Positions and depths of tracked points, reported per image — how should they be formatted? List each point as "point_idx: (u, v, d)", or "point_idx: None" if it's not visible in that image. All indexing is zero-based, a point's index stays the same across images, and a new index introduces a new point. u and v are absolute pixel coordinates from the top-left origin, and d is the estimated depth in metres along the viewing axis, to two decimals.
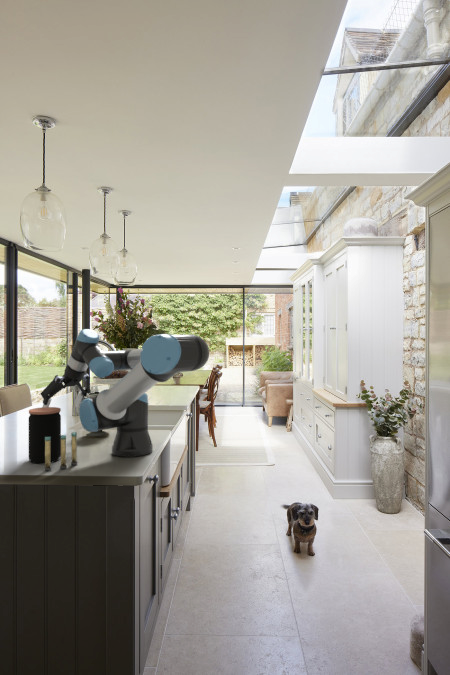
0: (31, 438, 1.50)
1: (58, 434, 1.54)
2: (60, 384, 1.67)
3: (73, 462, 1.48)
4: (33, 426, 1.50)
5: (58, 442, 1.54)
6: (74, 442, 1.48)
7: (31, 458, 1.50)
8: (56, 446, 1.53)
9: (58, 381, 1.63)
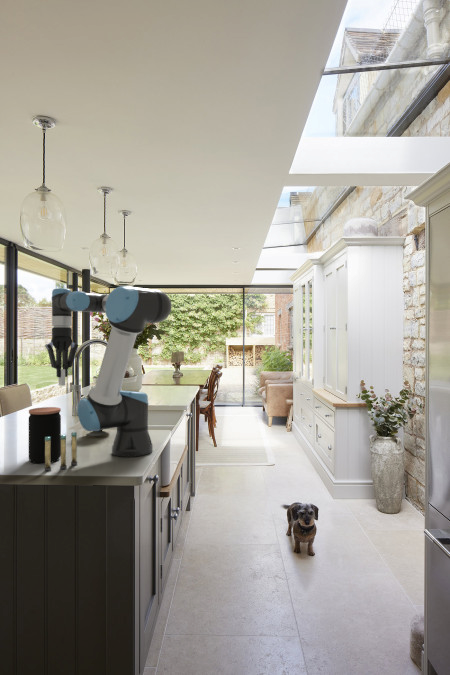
0: (31, 438, 1.50)
1: (58, 434, 1.54)
2: (57, 351, 1.75)
3: (73, 462, 1.48)
4: (33, 426, 1.50)
5: (58, 442, 1.54)
6: (74, 442, 1.48)
7: (31, 458, 1.50)
8: (56, 446, 1.53)
9: (49, 347, 1.71)
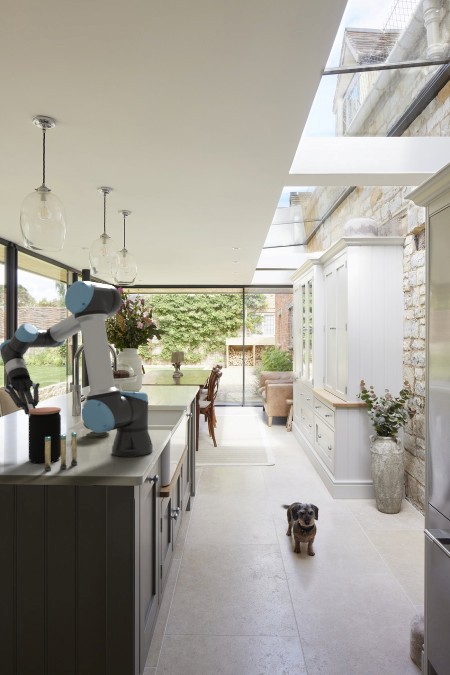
0: (31, 438, 1.50)
1: (58, 434, 1.54)
2: (19, 392, 1.68)
3: (73, 462, 1.48)
4: (33, 426, 1.50)
5: (58, 442, 1.54)
6: (74, 442, 1.48)
7: (31, 458, 1.50)
8: (56, 446, 1.53)
9: (9, 387, 1.66)
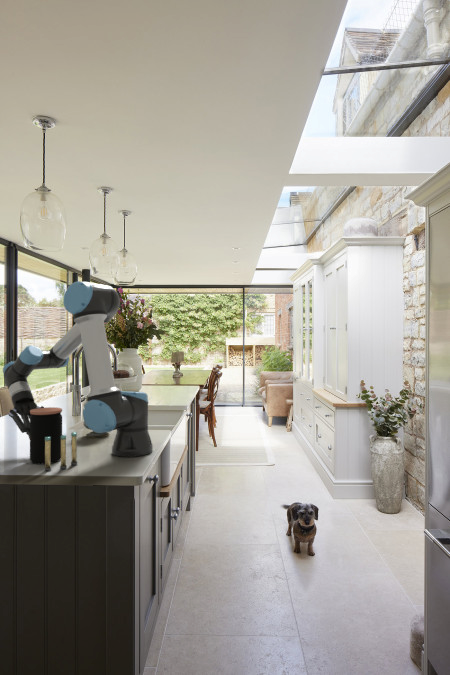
0: (33, 438, 1.50)
1: (60, 434, 1.54)
2: (23, 416, 1.64)
3: (73, 462, 1.48)
4: (35, 427, 1.49)
5: (60, 442, 1.53)
6: (74, 442, 1.48)
7: (32, 459, 1.50)
8: (57, 446, 1.52)
9: (12, 411, 1.62)
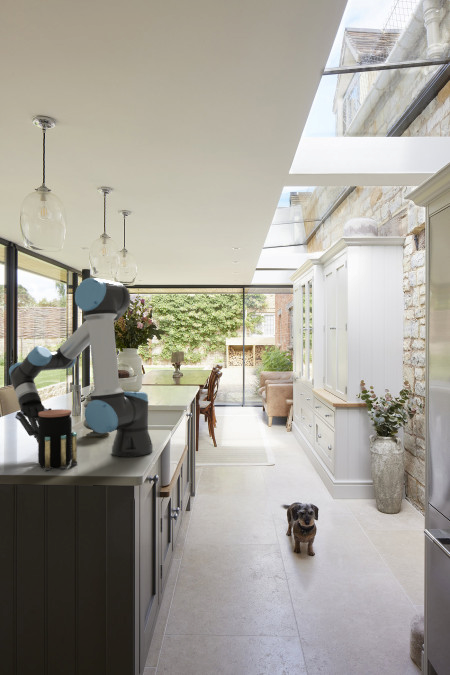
0: (42, 441, 1.45)
1: (69, 437, 1.49)
2: (30, 419, 1.59)
3: (73, 462, 1.48)
4: (44, 430, 1.44)
5: (69, 445, 1.49)
6: (74, 442, 1.48)
7: (42, 462, 1.45)
8: (67, 450, 1.48)
9: (20, 414, 1.57)
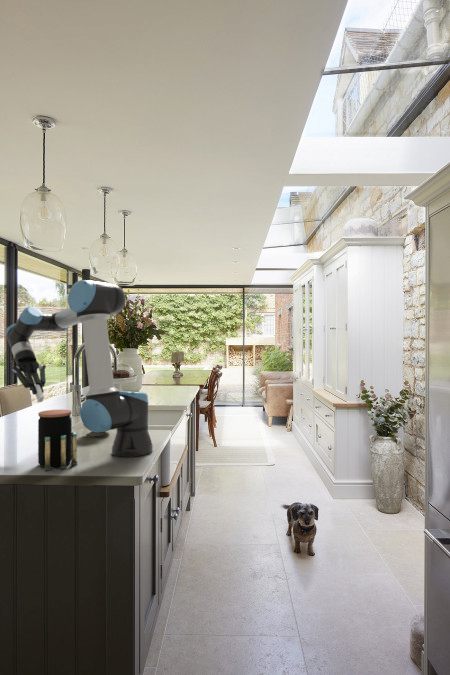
0: (42, 441, 1.45)
1: (69, 437, 1.49)
2: (26, 373, 1.71)
3: (73, 462, 1.48)
4: (44, 430, 1.44)
5: (69, 446, 1.49)
6: (74, 442, 1.48)
7: (42, 463, 1.45)
8: (67, 450, 1.48)
9: (16, 368, 1.69)
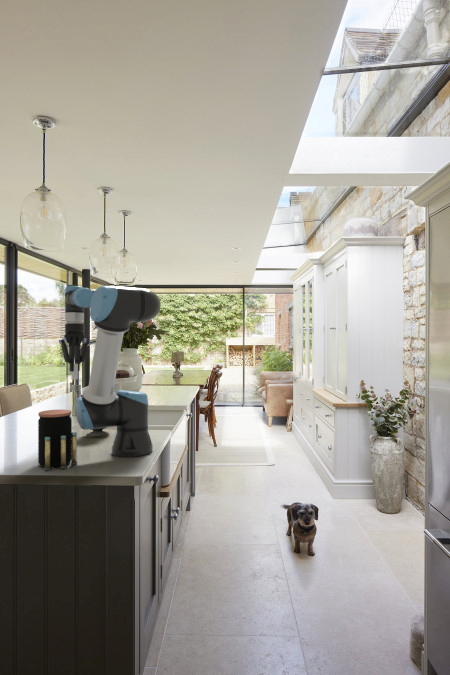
0: (42, 441, 1.45)
1: (69, 437, 1.49)
2: (70, 347, 1.82)
3: (73, 462, 1.48)
4: (44, 430, 1.44)
5: (69, 446, 1.49)
6: (74, 442, 1.48)
7: (42, 463, 1.45)
8: (67, 450, 1.48)
9: (63, 342, 1.78)
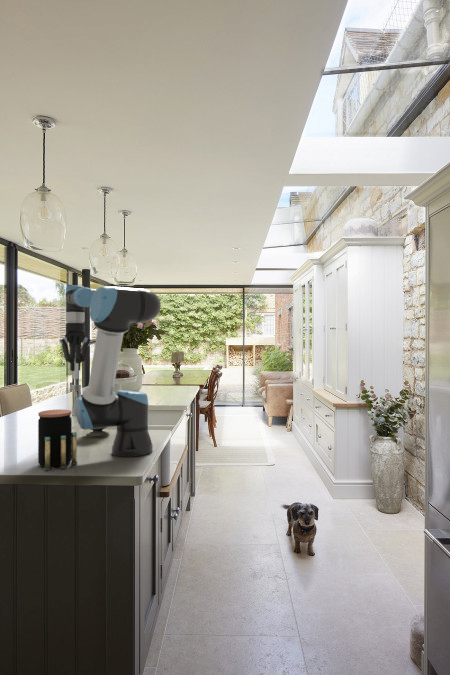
0: (42, 441, 1.45)
1: (69, 437, 1.49)
2: (70, 346, 1.82)
3: (73, 462, 1.48)
4: (44, 430, 1.44)
5: (69, 446, 1.49)
6: (74, 442, 1.48)
7: (42, 463, 1.45)
8: (67, 450, 1.48)
9: (64, 341, 1.78)
